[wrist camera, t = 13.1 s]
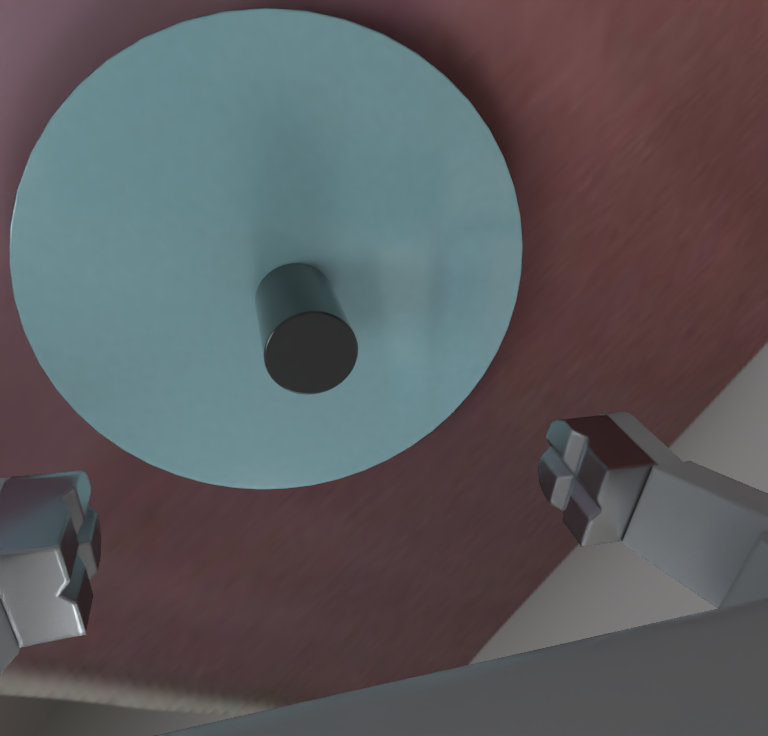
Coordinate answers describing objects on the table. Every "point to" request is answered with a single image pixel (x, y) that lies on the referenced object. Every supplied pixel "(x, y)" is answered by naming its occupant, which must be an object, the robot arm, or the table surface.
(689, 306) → the table surface
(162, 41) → the pan lid
